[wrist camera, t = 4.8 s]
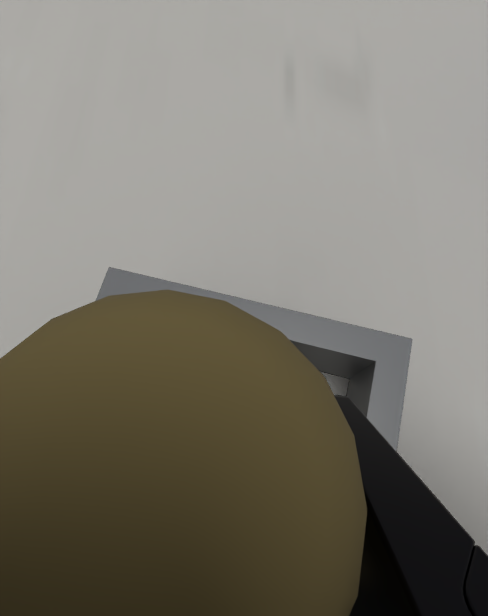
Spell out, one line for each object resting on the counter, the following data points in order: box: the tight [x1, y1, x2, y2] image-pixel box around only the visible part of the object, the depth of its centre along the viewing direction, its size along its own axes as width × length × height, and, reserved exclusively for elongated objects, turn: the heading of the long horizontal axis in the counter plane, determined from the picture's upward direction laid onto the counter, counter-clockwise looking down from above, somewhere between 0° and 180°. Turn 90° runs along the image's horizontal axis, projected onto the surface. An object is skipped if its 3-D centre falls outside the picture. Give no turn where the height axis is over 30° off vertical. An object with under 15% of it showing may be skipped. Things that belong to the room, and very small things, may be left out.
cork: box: [0, 289, 367, 616], centre depth 9 cm, size 6×6×11 cm
